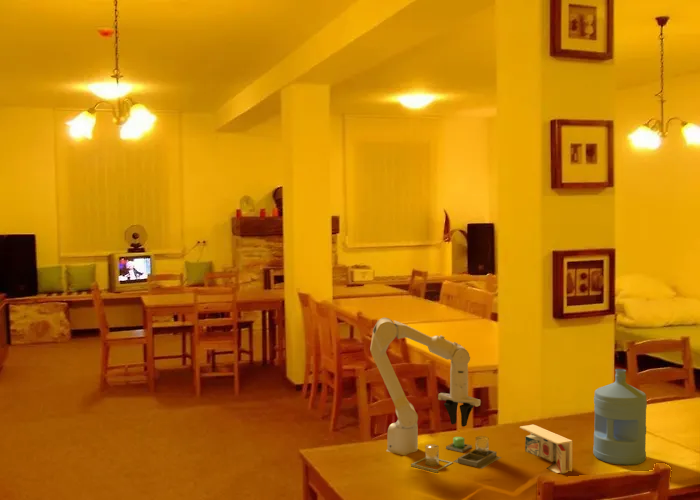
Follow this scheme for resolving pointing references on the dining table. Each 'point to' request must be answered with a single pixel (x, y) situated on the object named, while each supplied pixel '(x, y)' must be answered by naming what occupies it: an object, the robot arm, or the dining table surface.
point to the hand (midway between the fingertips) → (458, 424)
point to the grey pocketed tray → (477, 459)
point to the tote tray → (429, 468)
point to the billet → (432, 455)
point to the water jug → (620, 422)
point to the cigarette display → (549, 448)
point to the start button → (458, 442)
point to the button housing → (459, 448)
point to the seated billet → (482, 445)
